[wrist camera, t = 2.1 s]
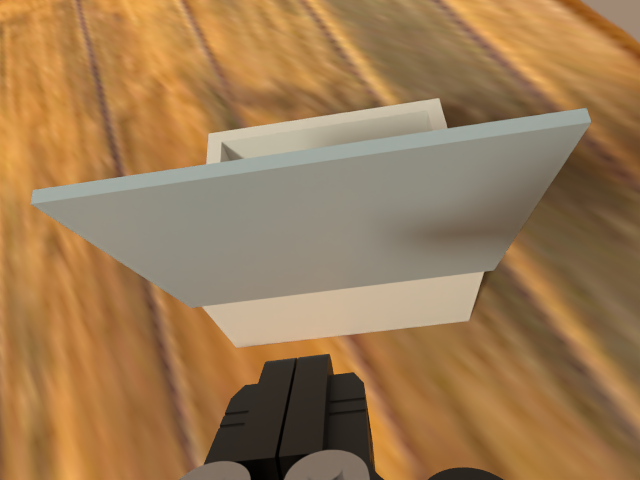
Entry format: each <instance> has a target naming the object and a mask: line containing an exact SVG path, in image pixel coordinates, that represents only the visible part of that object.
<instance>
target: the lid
mask: <svg viewBox="0 0 640 480" xmlns="http://www.w3.org/2000/svg"><path fill="white" fill-rule="evenodd" d="M590 124H591V119H590V117H589V114H588V111H587V109H586V108H582V109H575V110H569V111H562V112H555V113H549V114H542V115H535V116H528V117H522V118H515V119H508V120H502V121H495V122H488V123H481V124H475V125H468V126H461V127H454V128H448V129H441V130H434V131H428V132H421V133H414V134H407V135H401V136H394V137H387V138H380V139H374V140H367V141H360V142H354V143H347V144H340V145H333V146H327V147H320V148H313V149H307V150H300V151H293V152H286V153H280V154H273V155H266V156H259V157H253V158H246V159H239V160H233V161H226V162H219V163H212V164H206V165H199V166H192V167H186V168H179V169H172V170H165V171H159V172H152V173H145V174H138V175H132V176H125V177H118V178H112V179H105V180H98V181H91V182H85V183H78V184H71V185H64V186H58V187H51V188H44V189H38V190H33V193H32V199H31V205H33V206H34V207H36V208H38V209H39V210H41V211H42V212H44V213H45V214H47V215H48V216H50V217H51V218H53V219H55V220H56V221H58V222H59V223H61V224H62V225H64V226H65V227H67V228H68V229H70V230H72V231H73V232H75V233H76V234H78V235H79V236H81V237H82V238H84V239H85V240H87V241H89V242H90V243H92V244H93V245H95V246H96V247H98V248H99V249H101V250H102V251H104V252H106V253H107V254H109V255H110V256H112V257H113V258H115V259H116V260H118V261H119V262H121V263H123V264H124V265H126V266H127V267H129V268H130V269H132V270H133V271H135V272H136V273H138V274H140V275H141V276H143V277H144V278H146V279H147V280H149V281H150V282H152V283H153V284H155V285H157V286H158V287H160V288H161V289H163V290H164V291H166V292H167V293H169V294H170V295H172V296H174V297H175V298H177V299H178V300H180V301H181V302H183V303H184V304H186V305H187V306H189V307H191V308H194V307H202V306H210V305H218V304H226V303H234V302H242V301H250V300H259V299H267V298H275V297H283V296H291V295H299V294H307V293H315V292H323V291H331V290H339V289H347V288H355V287H363V286H372V285H380V284H388V283H396V282H404V281H412V280H420V279H428V278H436V277H444V276H452V275H460V274H468V273H477V272H485V271H493V270H494V269H495V268H496V266H497V265H498V263H499V262H500V260H501V259H502V257H503V256H504V254H505V253H506V251H507V250H508V248H509V247H510V245H511V243H512V242H513V240H514V239H515V237H516V236H517V234H518V233H519V231H520V230H521V228H522V227H523V225H524V224H525V222H526V221H527V219H528V218H529V216H530V215H531V213H532V212H533V210H534V209H535V207H536V206H537V204H538V203H539V201H540V199H541V198H542V196H543V195H544V193H545V192H546V190H547V189H548V187H549V186H550V184H551V183H552V181H553V180H554V178H555V177H556V175H557V174H558V172H559V171H560V169H561V168H562V166H563V165H564V163H565V162H566V160H567V158H568V157H569V155H570V154H571V152H572V151H573V149H574V148H575V146H576V145H577V143H578V142H579V140H580V139H581V137H582V136H583V134H584V133H585V131H586V130H587V128H588V127H589V125H590Z"/></svg>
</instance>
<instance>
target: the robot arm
mask: <svg viewBox="0 0 640 480" xmlns="http://www.w3.org/2000/svg"><path fill="white" fill-rule="evenodd" d="M179 480H384V479H383V478H381V477H380V476H379V475H378V474H377V473H376V472H375V464H374V453H373V442H372V435H371V428H370V422H369V415H368V408H367V401H366V395H365V388H364V383H363V382H362V381H361V380H360V379H359V378H358V376H357V375H356V374H355V373H354V372H353V373H345V374H336V375H334V374H333V367H332V362H331V357H330V354H324V355H316V356H307V357H299V358H298V359H297V358H291V359H283V360H275V361H267V362H265V364H264V367H263V370H262V373H261V376H260V379H259V382H258V384H252V385H245V386H244V387H243V388H242V389H241V390H240V391H239V392H237V393H236V394H235V395H234V396H233V397H232V398H231V400H230V402H229V405H228V407H227V410H226V412H225V416H224V417H223V419H222V422H221V424H220V428H219V429H218V431H217V434H216V436H215V439H214V441H213V443H212V446H211V448H210V451H209V453H208V456H207V458H206V460H205V463H204V465H202V466H200V467H198V468H196V469H194V470H192V471H190V472H188V473H187V474H186V475H184V476H183V477H182V478H180V479H179ZM428 480H503V479H501V478H500V477H498V476H496V475H494V474H492V473H489V472H486V471H484V470H480V469H475V468H452V469H447V470H444V471H441V472H439V473H437V474H435V475H433V476H432V477H430V478H429V479H428Z"/></svg>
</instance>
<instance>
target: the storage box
mask: <svg viewBox="0 0 640 480" xmlns="http://www.w3.org/2000/svg"><path fill="white" fill-rule="evenodd" d="M441 129H448V128H447V124H446V121H445V117H444V114H443V111H442V107H441V104H440V100H439V98H438V99H431V100H425V101H418V102H412V103H405V104H399V105H392V106H386V107H379V108H373V109H366V110H360V111H353V112H347V113H340V114H334V115H327V116H321V117H314V118H308V119H301V120H295V121H288V122H282V123H275V124H269V125H262V126H256V127H249V128H243V129H236V130H230V131H223V132H217V133H210V134H209V137H208V150H207V163H206V164H212V163H219V162H226V161H233V160H239V159H246V158H253V157H259V156H266V155H273V154H280V153H286V152H293V151H300V150H307V149H313V148H320V147H327V146H333V145H340V144H347V143H354V142H360V141H367V140H374V139H380V138H387V137H394V136H401V135H407V134H414V133H421V132H428V131H434V130H441ZM483 274H484V272H477V273H468V274H460V275H452V276H444V277H436V278H428V279H420V280H412V281H404V282H396V283H388V284H380V285H372V286H363V287H355V288H347V289H339V290H331V291H323V292H315V293H307V294H299V295H291V296H283V297H275V298H267V299H259V300H250V301H242V302H234V303H226V304H218V305H210V306H202V307H203V309H204V310H205V311H206V312H207V313H208V314H209V316H210V317H211V318H212V319H213V320H214V322H215V323H216V324H217V325H218V326H219V327H220V329H221V330H222V331H223V332H224V333H225V335H226V336H227V337H228V338H229V339H230V341H231V342H232V343H233V344H234V345H235V346H236V348H238V347H247V346H256V345H264V344H273V343H282V342H290V341H299V340H308V339H316V338H325V337H333V336H342V335H351V334H359V333H368V332H377V331H385V330H394V329H402V328H411V327H420V326H428V325H437V324H446V323H454V322H463V321H469V319H470V316H471V312H472V309H473V306H474V303H475V300H476V296H477V293H478V290H479V287H480V284H481V280H482V277H483Z"/></svg>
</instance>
